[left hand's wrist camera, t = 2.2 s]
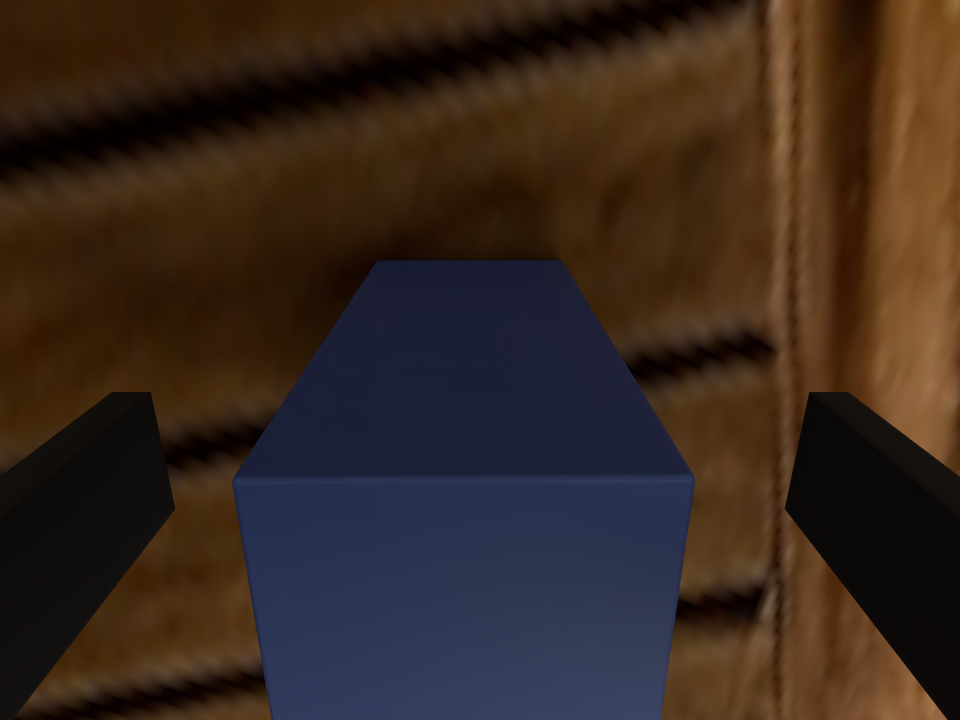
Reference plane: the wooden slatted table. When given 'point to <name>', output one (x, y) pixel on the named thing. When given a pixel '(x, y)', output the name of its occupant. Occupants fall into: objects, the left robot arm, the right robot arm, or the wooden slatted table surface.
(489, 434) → the brick
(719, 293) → the wooden slatted table surface
